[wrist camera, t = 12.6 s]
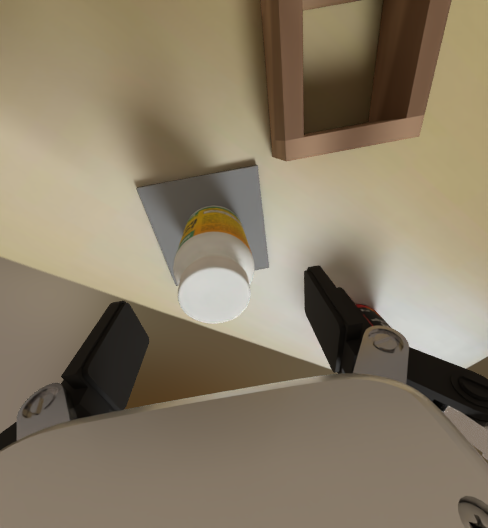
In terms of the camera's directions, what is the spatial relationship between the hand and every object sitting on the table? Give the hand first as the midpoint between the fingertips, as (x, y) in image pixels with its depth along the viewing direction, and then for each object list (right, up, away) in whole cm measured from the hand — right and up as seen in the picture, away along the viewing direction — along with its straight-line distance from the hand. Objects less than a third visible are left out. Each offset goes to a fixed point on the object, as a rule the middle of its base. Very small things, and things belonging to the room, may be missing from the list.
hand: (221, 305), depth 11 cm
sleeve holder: (+7, +16, +4) cm, 18 cm away
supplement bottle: (-2, +5, +9) cm, 10 cm away
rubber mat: (-2, +5, +9) cm, 11 cm away
